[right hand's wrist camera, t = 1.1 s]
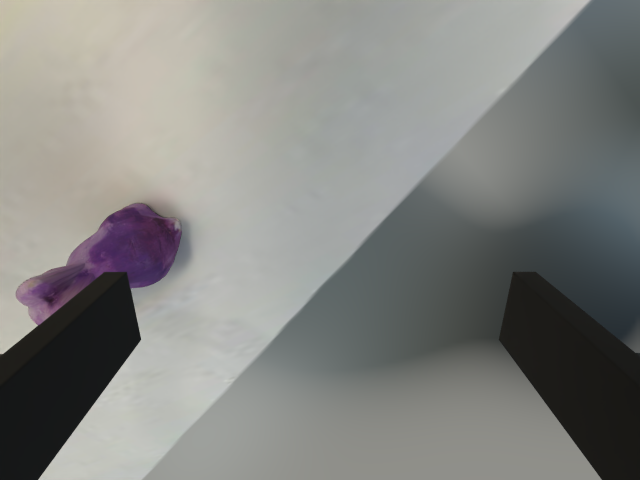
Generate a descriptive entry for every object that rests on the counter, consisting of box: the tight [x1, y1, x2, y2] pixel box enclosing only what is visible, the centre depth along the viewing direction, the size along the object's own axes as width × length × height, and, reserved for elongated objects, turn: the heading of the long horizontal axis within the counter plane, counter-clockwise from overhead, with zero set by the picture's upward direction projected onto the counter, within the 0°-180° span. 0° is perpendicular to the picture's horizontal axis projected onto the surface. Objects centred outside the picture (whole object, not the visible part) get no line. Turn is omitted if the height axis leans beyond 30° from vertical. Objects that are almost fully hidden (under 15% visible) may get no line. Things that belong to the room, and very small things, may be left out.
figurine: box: [16, 203, 182, 325], centre depth 34 cm, size 9×10×15 cm
